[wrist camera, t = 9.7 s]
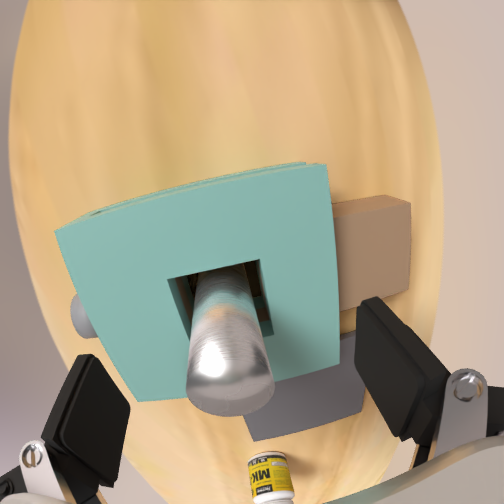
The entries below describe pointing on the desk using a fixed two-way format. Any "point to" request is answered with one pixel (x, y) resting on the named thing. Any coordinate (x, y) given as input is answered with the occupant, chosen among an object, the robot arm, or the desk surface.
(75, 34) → the desk surface
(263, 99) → the desk surface
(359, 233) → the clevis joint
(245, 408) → the steel pin
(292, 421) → the rubber mat
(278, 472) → the supplement bottle
